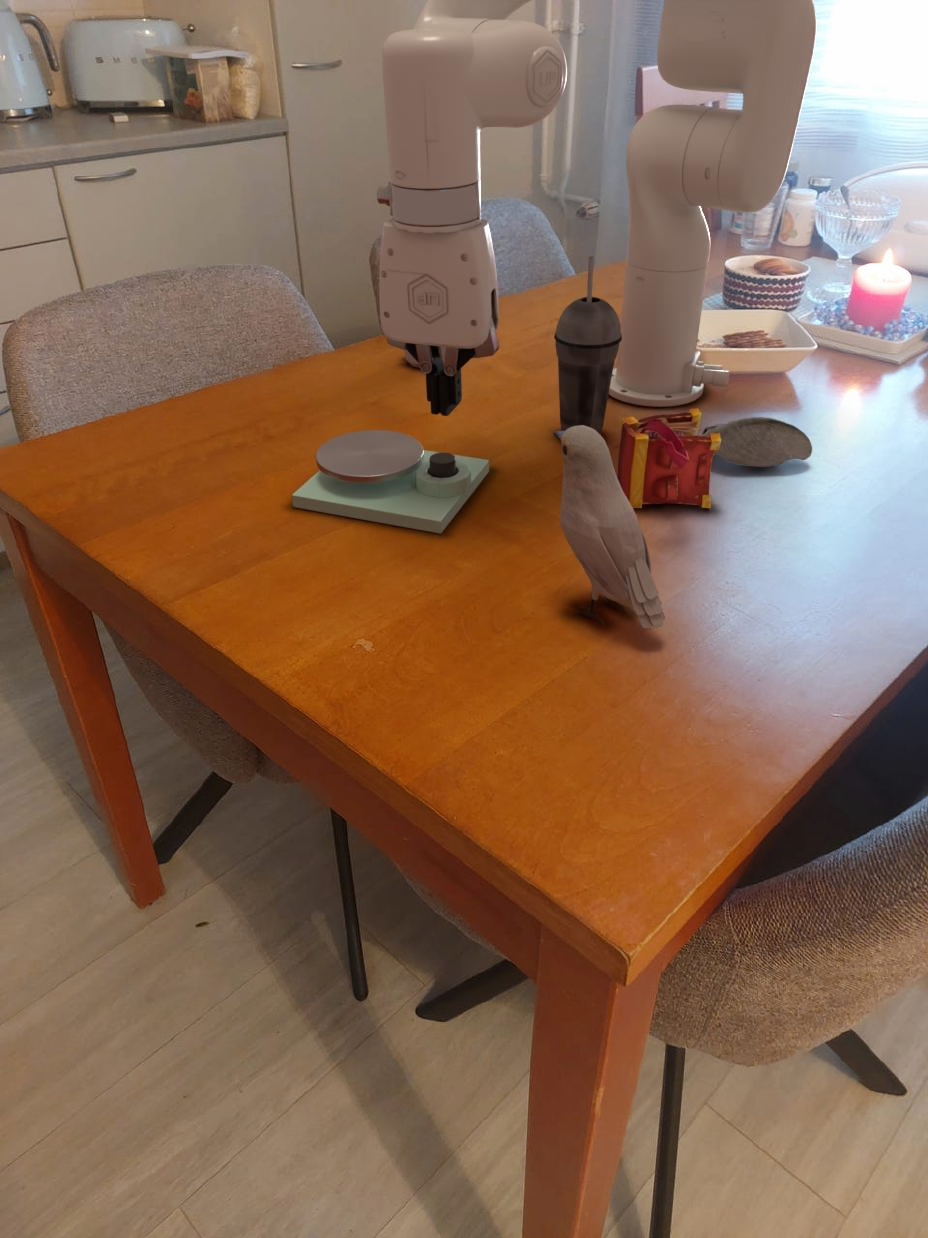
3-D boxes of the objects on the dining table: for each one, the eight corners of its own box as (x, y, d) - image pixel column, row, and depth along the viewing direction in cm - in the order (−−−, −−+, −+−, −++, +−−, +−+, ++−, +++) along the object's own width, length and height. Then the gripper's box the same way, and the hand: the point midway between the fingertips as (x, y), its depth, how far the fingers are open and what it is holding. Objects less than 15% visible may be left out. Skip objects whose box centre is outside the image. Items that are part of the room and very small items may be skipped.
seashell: (800, 446, 100) (810, 403, 97) (814, 479, 93) (825, 435, 90) (692, 441, 101) (698, 399, 98) (698, 474, 94) (705, 430, 91)
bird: (567, 564, 80) (577, 405, 72) (678, 636, 71) (706, 464, 63) (525, 582, 78) (530, 420, 69) (634, 658, 69) (656, 484, 60)
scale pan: (440, 444, 94) (439, 437, 94) (397, 490, 86) (397, 483, 85) (346, 430, 97) (345, 424, 97) (296, 473, 89) (295, 466, 88)
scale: (491, 472, 95) (491, 446, 94) (443, 534, 85) (442, 506, 83) (354, 450, 100) (352, 425, 98) (293, 507, 90) (289, 480, 88)
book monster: (698, 477, 93) (720, 541, 84) (611, 479, 94) (624, 543, 85) (712, 381, 87) (738, 440, 77) (618, 383, 87) (633, 442, 78)
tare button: (459, 470, 90) (459, 454, 89) (450, 481, 88) (449, 465, 87) (435, 466, 91) (435, 450, 90) (425, 477, 89) (425, 461, 88)
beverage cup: (618, 427, 104) (635, 247, 93) (605, 453, 99) (622, 265, 87) (557, 420, 106) (567, 243, 95) (542, 445, 101) (550, 260, 89)
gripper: (336, 209, 74) (358, 415, 85) (506, 219, 70) (506, 435, 81) (374, 191, 80) (390, 386, 91) (534, 199, 76) (530, 403, 87)
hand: (444, 409), depth 86 cm, fingers closed
